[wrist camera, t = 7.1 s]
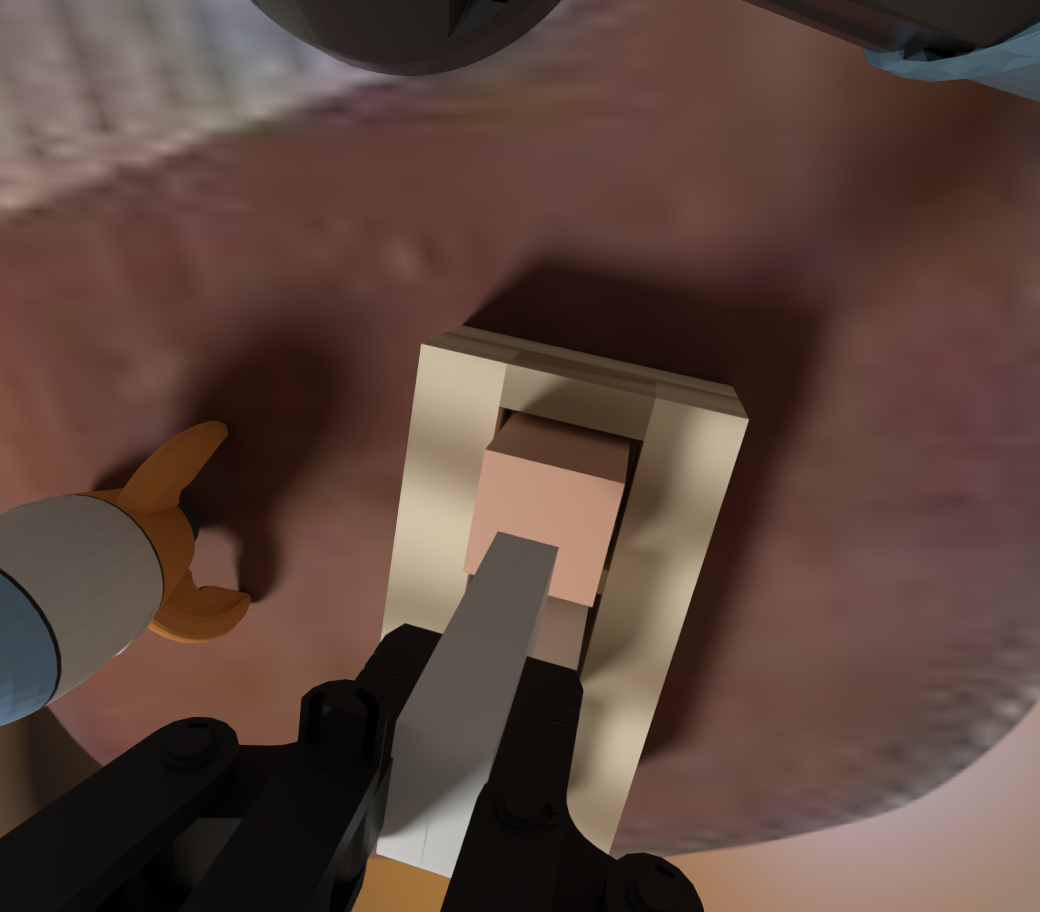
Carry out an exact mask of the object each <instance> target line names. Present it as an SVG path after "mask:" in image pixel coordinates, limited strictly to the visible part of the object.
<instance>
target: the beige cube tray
mask: <svg viewBox="0 0 1040 912" xmlns="http://www.w3.org/2000/svg"><path fill="white" fill-rule="evenodd" d="M515 411H520V412H525V413H529V414H533V415H537V416H541V417H546V418H550V419H554V420H558V421H562V422H566V423H571V424H575V425H579V426H583V427H587V428H592V429H596V430H600V431H604V432H608V433H612V434H617V435H621V436H625V437H629V438H631V441H630V448H629V456H628V464H627V472H626V480H625V486H624V490H623V493H622V497H621V501H620V505H619V508H618V512H617V516H616V520H615V524H614V527H613V531H612V535H611V539H610V542H609V546H608V550H607V554H606V558H605V561H604V565H603V569H602V573H601V576H600V580H599V584H598V588H597V592H596V595H595V599H594V603H593V607H590V606H589V607H588V613H587V618H586V624H585V629H584V634H583V640H582V645H581V651H580V656H579V662H578V667H577V674H578V676H579V679H580V682H581V684H582V687H583V690H584V692H583V698H582V704H581V710H580V716H579V722H578V728H577V734H576V740H575V746H574V752H573V758H572V764H571V770H570V777H569V783H568V789H567V806H568V810H569V814H570V816H571V818H572V820H573V822H574V824H575V826H576V827H577V828H578V830H579V831H580V832H581V833H582V834H583V836H584V837H585V838H586V839H588V840H589V841H590V842H591V843H592V844H594V845H595V846H596V847H597V848H599V849H600V850H602V851H604V852H605V853H607V854H609V851H610V848H611V845H612V842H613V839H614V835H615V832H616V829H617V826H618V823H619V820H620V817H621V814H622V811H623V808H624V805H625V801H626V798H627V795H628V792H629V789H630V786H631V783H632V780H633V777H634V774H635V771H636V767H637V764H638V761H639V758H640V755H641V752H642V749H643V746H644V743H645V740H646V737H647V733H648V730H649V727H650V724H651V721H652V718H653V715H654V712H655V709H656V706H657V703H658V699H659V696H660V693H661V690H662V687H663V684H664V681H665V678H666V675H667V672H668V669H669V665H670V662H671V659H672V656H673V653H674V650H675V647H676V644H677V641H678V638H679V635H680V631H681V628H682V625H683V622H684V619H685V616H686V613H687V610H688V607H689V604H690V601H691V597H692V594H693V591H694V588H695V585H696V582H697V579H698V576H699V573H700V570H701V567H702V563H703V560H704V557H705V554H706V551H707V548H708V545H709V542H710V539H711V536H712V533H713V530H714V526H715V523H716V520H717V517H718V514H719V511H720V508H721V505H722V502H723V499H724V496H725V492H726V489H727V486H728V483H729V480H730V477H731V474H732V471H733V468H734V465H735V462H736V458H737V455H738V452H739V449H740V446H741V443H742V440H743V437H744V434H745V431H746V428H747V424H748V421H749V418H748V416H747V414H746V412H745V410H744V408H743V406H742V404H741V402H740V400H739V398H738V396H737V394H736V392H735V390H734V388H733V386H729V385H725V384H720V383H716V382H712V381H707V380H703V379H698V378H694V377H689V376H685V375H681V374H676V373H672V372H667V371H663V370H658V369H654V368H650V367H645V366H641V365H636V364H632V363H627V362H623V361H619V360H614V359H610V358H605V357H601V356H596V355H592V354H588V353H583V352H579V351H574V350H570V349H565V348H561V347H557V346H552V345H548V344H543V343H539V342H534V341H530V340H526V339H521V338H517V337H512V336H508V335H503V334H499V333H495V332H490V331H486V330H481V329H477V328H472V327H468V326H464V325H461V326H459V327H457V328H455V329H452V330H450V331H448V332H446V333H444V334H442V335H440V336H437V337H435V338H433V339H431V340H429V341H427V342H424V343H422V344H421V351H420V358H419V365H418V373H417V380H416V387H415V395H414V402H413V409H412V416H411V424H410V431H409V438H408V446H407V453H406V460H405V467H404V475H403V482H402V489H401V496H400V504H399V511H398V518H397V526H396V533H395V540H394V547H393V555H392V562H391V569H390V576H389V584H388V591H387V598H386V606H385V613H384V620H383V627H382V635H381V641H382V639H383V638H384V636H385V635H386V634H388V633H389V632H391V631H393V630H394V629H396V628H398V627H399V626H401V625H403V624H404V623H407V624H410V625H414V626H417V627H421V628H424V629H428V630H431V631H435V632H438V633H442V634H443V633H444V631H445V629H446V627H447V625H448V624H449V622H450V620H451V618H452V616H453V614H454V612H455V610H456V609H457V607H458V605H459V603H460V601H461V599H462V597H463V595H464V594H465V592H466V590H467V588H468V586H469V584H470V582H471V580H472V579H473V577H474V575H472V574H469V573H465V572H463V568H464V562H465V557H466V551H467V546H468V540H469V535H470V529H471V524H472V518H473V513H474V507H475V502H476V496H477V491H478V485H479V480H480V474H481V468H482V463H483V457H484V452H485V449H486V447H487V446H488V445H489V444H490V442H491V441H492V440H493V439H494V437H495V436H496V435H497V434H498V432H499V431H500V430H501V429H502V427H503V426H504V425H505V424H506V422H507V421H508V420H509V419H510V417H511V416H512V415H513V414H514V412H515Z"/></svg>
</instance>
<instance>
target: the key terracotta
mask: <svg viewBox="0 0 1040 912" xmlns="http://www.w3.org/2000/svg"><path fill="white" fill-rule="evenodd" d="M630 441H631V438H629V437H625V436H621V435H617V434H612V433H608V432H604V431H600V430H596V429H592V428H587V427H583V426H579V425H575V424H571V423H566V422H562V421H558V420H554V419H550V418H546V417H541V416H537V415H533V414H529V413H525V412H520V411H515V412H514V414H513V415H512V416H511V417H510V419H509V420H508V421H507V422H506V424H505V425H504V426H503V427H502V429H501V430H500V431H499V432H498V434H497V435H496V436H495V437H494V439H493V440H492V441H491V442H490V444H489V445H488V446H487V447H486V449H485V452H484V457H483V463H482V468H481V474H480V480H479V485H478V491H477V496H476V502H475V507H474V513H473V518H472V524H471V529H470V535H469V540H468V546H467V551H466V557H465V562H464V568H463V572H465V573H469V574H472V575H475V573H476V571H477V569H478V567H479V565H480V564H481V562H482V560H483V558H484V556H485V554H486V552H487V550H488V549H489V547H490V545H491V543H492V541H493V539H494V537H495V535H496V534H497V532H498V531H500V532H503V533H507V534H511V535H515V536H519V537H522V538H526V539H530V540H534V541H538V542H541V543H545V544H549V545H553V546H557V547H559V549H558V553H557V558H556V562H555V566H554V570H553V575H552V579H551V583H550V588H549V592H548V595H549V596H553V597H557V598H561V599H564V600H568V601H572V602H575V603H579V604H583V605H586V606H590V607H593V603H594V599H595V595H596V592H597V588H598V584H599V580H600V576H601V573H602V569H603V565H604V561H605V558H606V554H607V550H608V546H609V542H610V539H611V535H612V531H613V527H614V524H615V520H616V516H617V512H618V508H619V505H620V501H621V497H622V493H623V490H624V486H625V480H626V472H627V464H628V456H629V448H630Z"/></svg>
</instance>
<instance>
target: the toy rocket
mask: <svg viewBox="0 0 1040 912" xmlns="http://www.w3.org/2000/svg"><path fill="white" fill-rule="evenodd" d="M227 436H228V430H227V426H226V424H225V423H223V422H219V421H214V420H211V421H208V422H205V423H201V424H198V425H195V426H193V427H191V428H189V429H187V430H185V431H183V432H181V433H179V434H177V435H176V436H174V437H173V438H171V439H170V440H168V441H167V442H165V443H164V444H163V445H162V446H161V447H160V448H158V449H157V450H156V451H155V452H154V453H153V454H152V455H151V456H150V457H149V458H148V459H147V460H146V461H145V462H144V463H143V464H142V465H141V466H140V467H139V469H138V470H137V471H136V472H135V473H134V475H133V476H132V477H131V478H130V480H129V481H128V483H127V484H126V485H125V487H124V488H121V489H112V490H103V491H92V492H83V493H75V494H68V495H62V496H56V497H48V498H45V499H42V500H38V501H35V502H31V503H28V504H25V505H21V506H18V507H16V508H13V509H10V510H9V511H7V512H5V513H2V514H0V726H1V725H4V724H7V723H10V722H13V721H15V720H18V719H20V718H22V717H24V716H27V715H29V714H31V713H33V712H35V711H37V710H39V709H40V708H42V707H44V706H46V705H48V704H50V703H51V702H53V701H55V700H57V699H58V698H60V697H62V696H63V695H65V694H66V693H68V692H69V691H71V690H72V689H73V688H75V687H76V686H78V685H79V684H81V683H82V682H84V681H85V680H86V679H88V678H89V677H90V676H91V675H92V674H94V673H95V672H96V671H97V670H99V669H100V668H101V667H102V666H103V665H105V664H106V663H107V662H108V661H109V660H111V659H112V658H113V657H114V656H116V655H118V654H120V653H121V652H122V651H123V650H124V649H125V648H127V647H128V646H129V645H130V644H131V643H132V642H133V641H134V640H135V639H136V638H137V637H138V636H139V635H140V634H141V633H142V632H143V631H144V630H145V629H146V628H147V627H148V628H149V629H151V630H152V631H154V632H156V633H158V634H160V635H162V636H164V637H166V638H169V639H172V640H176V641H179V642H189V643H200V642H206V641H211V640H213V639H216V638H218V637H221V636H223V635H225V634H226V633H228V632H229V631H230V630H232V629H233V628H234V627H235V626H236V625H237V624H238V623H239V622H240V620H241V619H242V618H243V617H244V616H245V615H246V613H247V610H248V607H249V605H250V602H251V597H250V595H249V594H247V593H244V592H239V591H235V590H230V589H225V588H221V587H216V586H204V587H200V588H198V589H197V587H196V586H195V584H194V582H193V579H192V572H191V571H190V570H189V569H188V568H189V566H190V564H191V561H192V558H193V555H194V549H195V540H196V539H197V537H198V534H199V521H198V518H197V515H196V513H195V511H194V510H193V509H192V507H191V506H190V505H189V504H188V503H187V502H186V501H185V500H183V499H182V498H180V497H179V496H180V492H181V490H182V489H183V488H185V487H186V486H187V485H188V484H190V482H191V481H192V480H193V479H194V478H195V476H196V475H197V474H198V472H199V471H200V469H201V468H202V467H203V466H204V464H205V463H206V462H207V461H208V459H209V458H210V457H211V455H212V454H213V453H214V452H215V450H216V449H217V448H218V446H219V445H220V444H221V443H222V442H223V440H224V439H225V438H226V437H227Z"/></svg>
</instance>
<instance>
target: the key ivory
mask: <svg viewBox="0 0 1040 912" xmlns="http://www.w3.org/2000/svg"><path fill="white" fill-rule="evenodd" d="M588 607H589V606H586V605H583V604H579V603H575V602H572V601H568V600H564V599H561V598H557V597H553V596H549V595H548V596H547V600H546V605H545V609H544V613H543V617H542V622H541V626H540V630H539V634H538V639H537V643H536V646H535V649H534V653H533V656H532V658H536V659H539V660H543V661H546V662H550V663H553V664H557V665H560V666H564V667H567V668H571V669H574V670H576V671H577V667H578V662H579V656H580V651H581V645H582V640H583V634H584V629H585V624H586V618H587V613H588Z"/></svg>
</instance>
